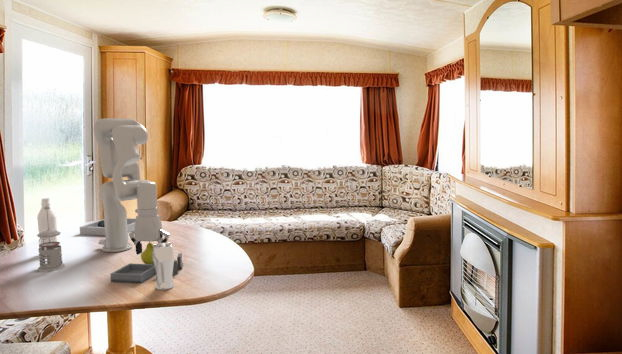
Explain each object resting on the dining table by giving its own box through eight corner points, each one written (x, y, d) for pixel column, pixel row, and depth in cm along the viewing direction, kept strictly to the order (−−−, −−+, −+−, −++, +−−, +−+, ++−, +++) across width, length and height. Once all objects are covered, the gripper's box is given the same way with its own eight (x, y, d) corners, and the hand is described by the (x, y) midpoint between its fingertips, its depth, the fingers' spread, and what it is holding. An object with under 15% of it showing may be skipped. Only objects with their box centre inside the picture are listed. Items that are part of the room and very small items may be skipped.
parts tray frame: (80, 234, 223) (79, 226, 223) (108, 224, 247) (108, 217, 246) (121, 235, 219) (121, 228, 219) (146, 225, 243) (145, 218, 242)
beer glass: (167, 281, 151) (165, 241, 149) (179, 285, 147) (177, 244, 146) (150, 287, 145) (147, 245, 144) (162, 292, 141) (160, 248, 140)
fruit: (153, 268, 167) (152, 238, 165) (138, 267, 168) (136, 238, 167) (162, 262, 174) (161, 234, 172) (147, 261, 175) (145, 233, 173)
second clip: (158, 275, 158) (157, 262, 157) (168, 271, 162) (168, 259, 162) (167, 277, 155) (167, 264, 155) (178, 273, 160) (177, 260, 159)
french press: (44, 273, 162) (39, 209, 159) (29, 268, 168) (24, 206, 165) (70, 266, 170) (66, 205, 167) (55, 261, 176) (50, 202, 173)
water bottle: (62, 253, 188) (58, 198, 186) (46, 257, 182) (42, 200, 179) (52, 251, 191) (48, 197, 189) (36, 255, 185) (31, 199, 182)
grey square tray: (111, 281, 152) (110, 273, 151) (130, 270, 163) (129, 263, 163) (141, 283, 150) (141, 275, 149) (158, 272, 162) (158, 264, 161)
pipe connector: (119, 217, 241) (123, 222, 228) (120, 226, 241) (124, 232, 228) (97, 220, 235) (99, 225, 222) (98, 229, 235) (100, 235, 223)
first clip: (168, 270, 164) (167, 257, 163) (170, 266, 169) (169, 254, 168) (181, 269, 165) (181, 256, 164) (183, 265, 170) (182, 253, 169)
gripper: (122, 213, 166) (125, 256, 168) (163, 214, 163) (165, 257, 165) (133, 210, 173) (135, 250, 175) (172, 210, 171) (174, 251, 172)
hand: (150, 253), depth 170 cm, fingers open, 9 cm apart
